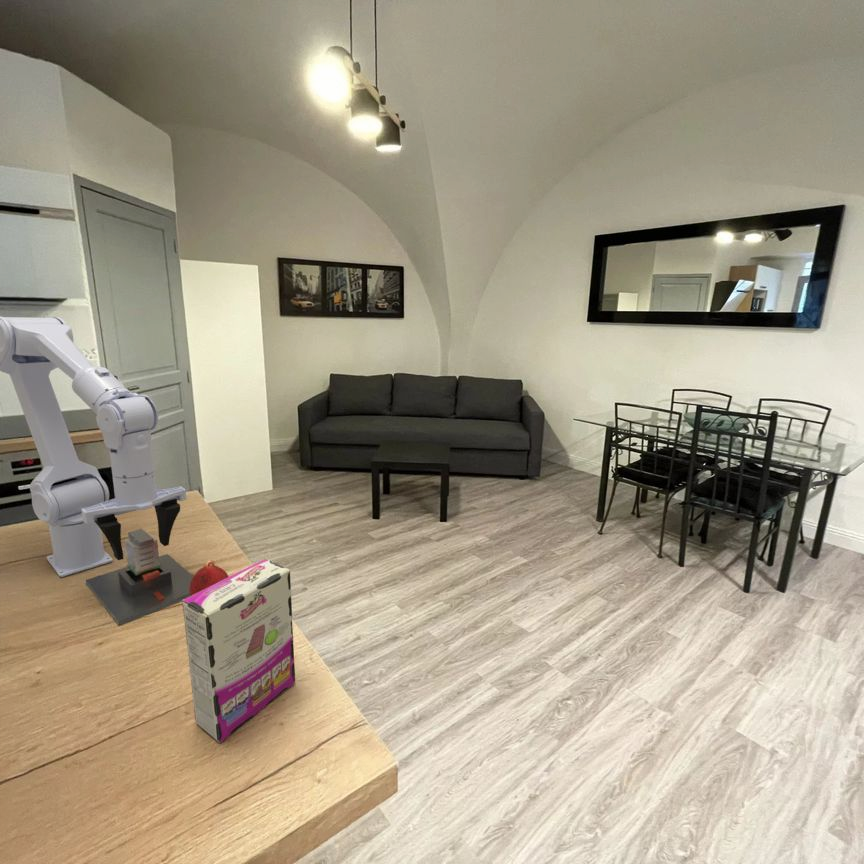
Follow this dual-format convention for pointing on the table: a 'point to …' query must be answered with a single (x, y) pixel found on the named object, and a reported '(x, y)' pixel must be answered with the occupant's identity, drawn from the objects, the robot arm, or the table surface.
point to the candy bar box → (239, 646)
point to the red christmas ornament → (206, 577)
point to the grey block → (142, 552)
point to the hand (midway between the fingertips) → (142, 550)
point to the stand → (141, 589)
